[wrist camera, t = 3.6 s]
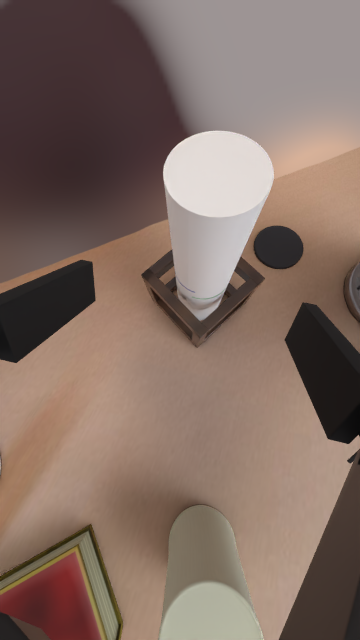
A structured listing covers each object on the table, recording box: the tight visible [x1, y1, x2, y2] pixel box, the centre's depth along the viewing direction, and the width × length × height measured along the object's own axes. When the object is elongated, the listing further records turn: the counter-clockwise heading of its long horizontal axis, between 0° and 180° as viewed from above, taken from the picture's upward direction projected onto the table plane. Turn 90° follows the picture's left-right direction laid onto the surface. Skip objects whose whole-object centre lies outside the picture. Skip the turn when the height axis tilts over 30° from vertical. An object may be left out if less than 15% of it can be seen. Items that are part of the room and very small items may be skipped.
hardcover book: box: [0, 524, 123, 640], centre depth 25 cm, size 12×21×4 cm, turn 117°
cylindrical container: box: [163, 131, 274, 321], centre depth 26 cm, size 7×7×25 cm
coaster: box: [254, 226, 303, 269], centre depth 40 cm, size 9×9×1 cm
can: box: [158, 505, 264, 640], centre depth 23 cm, size 9×9×12 cm
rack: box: [141, 250, 265, 347], centre depth 33 cm, size 12×12×10 cm
